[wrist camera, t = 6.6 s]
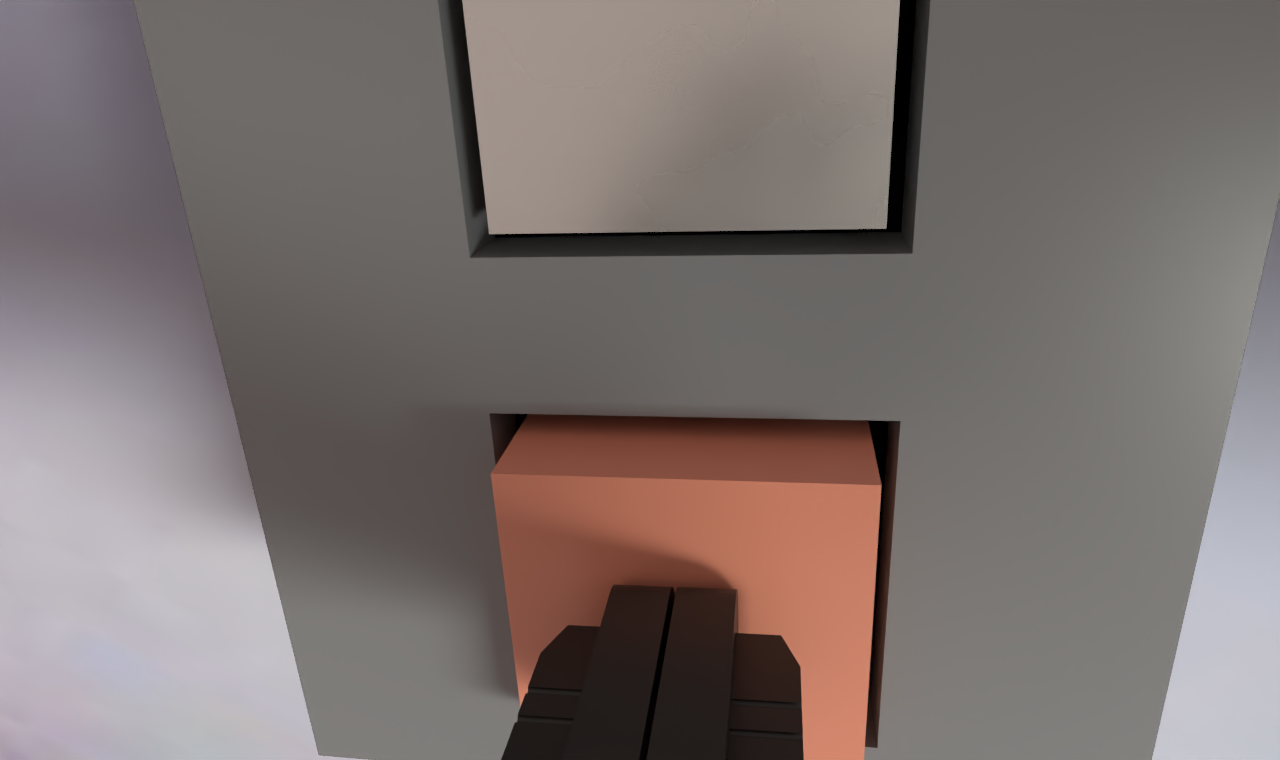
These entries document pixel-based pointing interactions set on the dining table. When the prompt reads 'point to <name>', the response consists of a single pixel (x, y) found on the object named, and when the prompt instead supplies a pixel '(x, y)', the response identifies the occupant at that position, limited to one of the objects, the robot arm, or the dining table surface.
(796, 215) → the plug
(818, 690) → the orange cube
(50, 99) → the dining table surface
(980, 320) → the grey plug holder
